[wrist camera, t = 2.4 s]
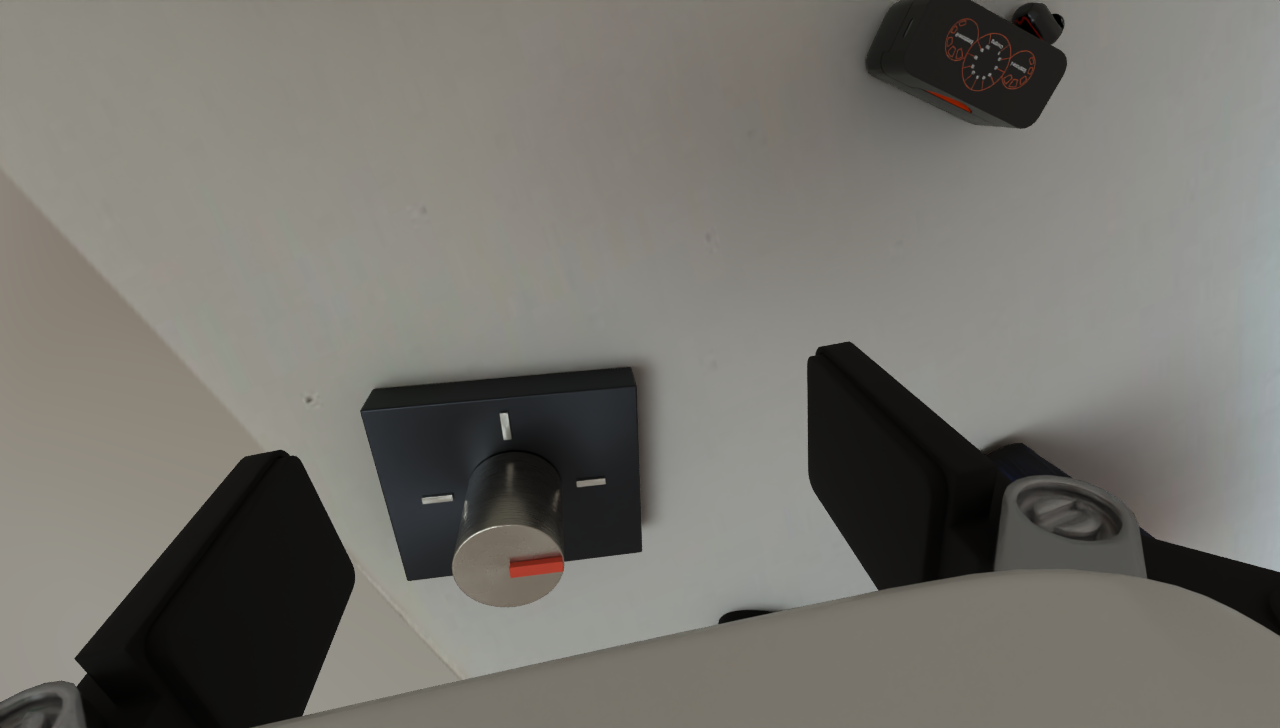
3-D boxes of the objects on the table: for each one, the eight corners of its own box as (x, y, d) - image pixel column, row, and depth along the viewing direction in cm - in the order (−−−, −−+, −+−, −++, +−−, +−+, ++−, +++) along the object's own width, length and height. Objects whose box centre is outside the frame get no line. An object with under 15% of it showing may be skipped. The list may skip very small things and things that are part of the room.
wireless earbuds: (987, 135, 25) (1044, 140, 22) (853, 70, 23) (897, 68, 20) (1051, 21, 24) (1122, 11, 21) (913, -59, 22) (969, -82, 19)
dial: (475, 530, 28) (460, 620, 23) (461, 456, 26) (441, 537, 21) (565, 520, 29) (568, 605, 24) (557, 446, 27) (559, 523, 22)
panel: (415, 553, 31) (406, 584, 29) (372, 389, 26) (358, 412, 24) (637, 526, 32) (642, 554, 30) (631, 366, 28) (637, 387, 26)
